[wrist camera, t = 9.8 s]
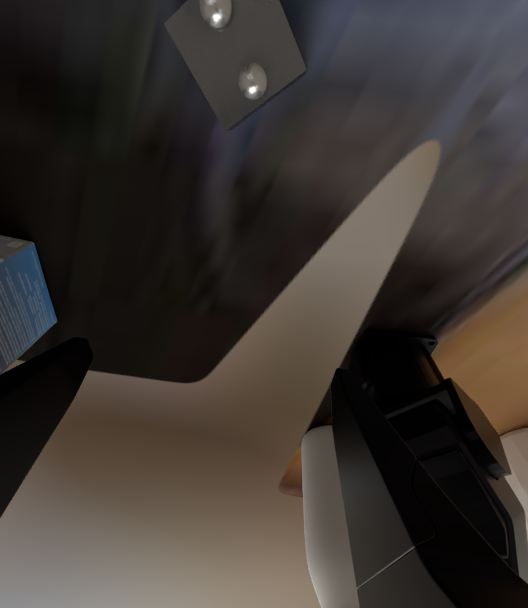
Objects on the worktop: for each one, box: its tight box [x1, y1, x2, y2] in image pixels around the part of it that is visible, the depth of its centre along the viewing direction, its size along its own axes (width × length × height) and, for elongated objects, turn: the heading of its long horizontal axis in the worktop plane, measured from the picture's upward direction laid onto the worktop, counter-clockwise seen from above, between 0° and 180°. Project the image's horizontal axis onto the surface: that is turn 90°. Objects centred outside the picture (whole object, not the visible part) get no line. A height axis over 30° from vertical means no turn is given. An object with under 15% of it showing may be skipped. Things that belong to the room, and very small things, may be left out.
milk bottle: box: [302, 425, 359, 608], centre depth 28 cm, size 8×8×20 cm
